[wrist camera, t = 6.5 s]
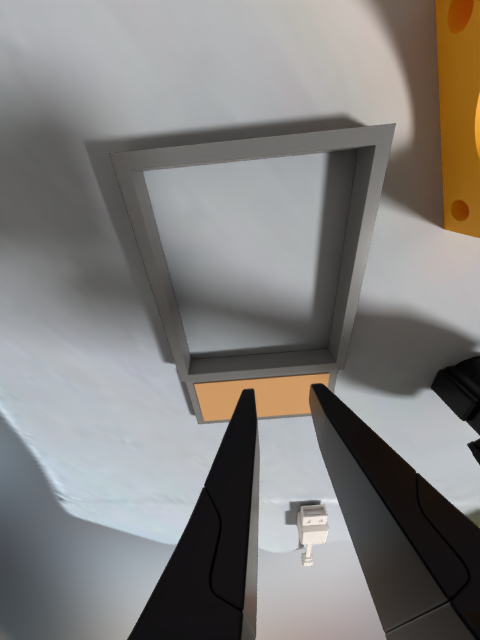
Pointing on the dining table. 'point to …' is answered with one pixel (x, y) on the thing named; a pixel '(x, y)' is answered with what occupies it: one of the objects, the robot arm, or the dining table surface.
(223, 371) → the gray rectangular frame
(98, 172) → the dining table surface
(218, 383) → the lid
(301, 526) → the charging cable
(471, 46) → the pipe clamp
